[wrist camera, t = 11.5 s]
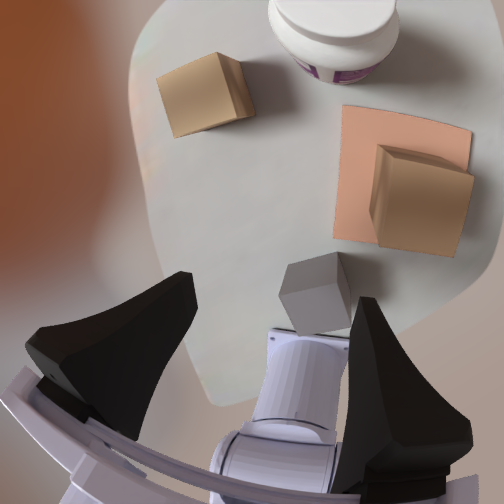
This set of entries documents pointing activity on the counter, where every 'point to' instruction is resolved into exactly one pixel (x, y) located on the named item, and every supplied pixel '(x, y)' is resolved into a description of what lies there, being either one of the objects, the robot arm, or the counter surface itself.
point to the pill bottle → (336, 35)
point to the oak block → (205, 94)
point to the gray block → (317, 295)
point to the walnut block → (418, 201)
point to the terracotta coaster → (364, 156)
